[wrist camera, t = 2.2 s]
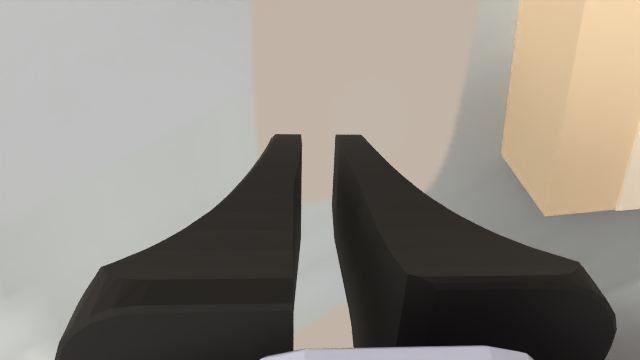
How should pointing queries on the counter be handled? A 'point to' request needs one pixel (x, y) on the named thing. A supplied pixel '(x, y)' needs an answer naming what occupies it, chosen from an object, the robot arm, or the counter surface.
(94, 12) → the counter surface
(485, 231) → the robot arm
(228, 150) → the counter surface
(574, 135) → the carton
